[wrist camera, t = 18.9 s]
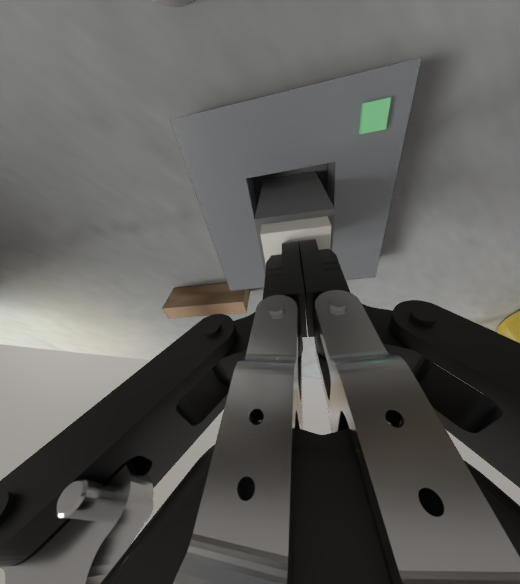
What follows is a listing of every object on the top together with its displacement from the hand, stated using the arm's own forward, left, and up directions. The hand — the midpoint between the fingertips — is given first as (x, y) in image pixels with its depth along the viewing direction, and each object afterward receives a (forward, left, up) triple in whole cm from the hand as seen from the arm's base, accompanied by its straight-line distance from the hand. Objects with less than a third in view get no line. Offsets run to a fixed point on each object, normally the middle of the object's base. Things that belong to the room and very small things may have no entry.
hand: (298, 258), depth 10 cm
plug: (0, 0, -8) cm, 8 cm away
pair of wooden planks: (-9, -11, -8) cm, 16 cm away
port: (0, 0, -8) cm, 8 cm away
